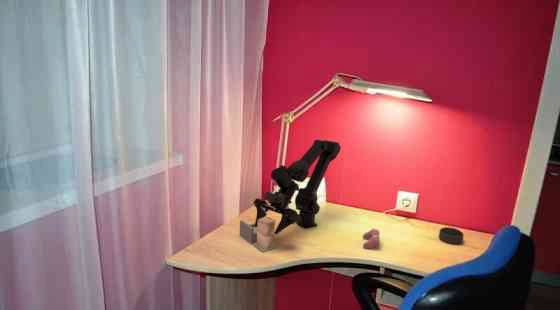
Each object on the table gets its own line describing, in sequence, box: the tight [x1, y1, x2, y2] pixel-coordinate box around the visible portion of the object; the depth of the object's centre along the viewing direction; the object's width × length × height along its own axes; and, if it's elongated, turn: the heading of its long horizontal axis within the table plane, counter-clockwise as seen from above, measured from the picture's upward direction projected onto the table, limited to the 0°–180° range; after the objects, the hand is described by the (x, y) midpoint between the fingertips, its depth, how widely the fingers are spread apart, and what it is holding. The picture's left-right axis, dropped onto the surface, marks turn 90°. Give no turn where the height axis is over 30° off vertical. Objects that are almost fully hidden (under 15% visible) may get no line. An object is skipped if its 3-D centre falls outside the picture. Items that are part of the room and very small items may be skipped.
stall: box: [239, 219, 257, 245], centre depth 152 cm, size 9×9×6 cm
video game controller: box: [362, 228, 381, 250], centre depth 151 cm, size 10×5×7 cm, turn 169°
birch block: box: [257, 215, 276, 249], centre depth 144 cm, size 4×4×10 cm
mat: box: [251, 242, 279, 253], centre depth 146 cm, size 7×7×1 cm
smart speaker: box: [438, 226, 464, 245], centre depth 159 cm, size 9×9×4 cm
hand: (265, 230), depth 144 cm, fingers open, 9 cm apart
